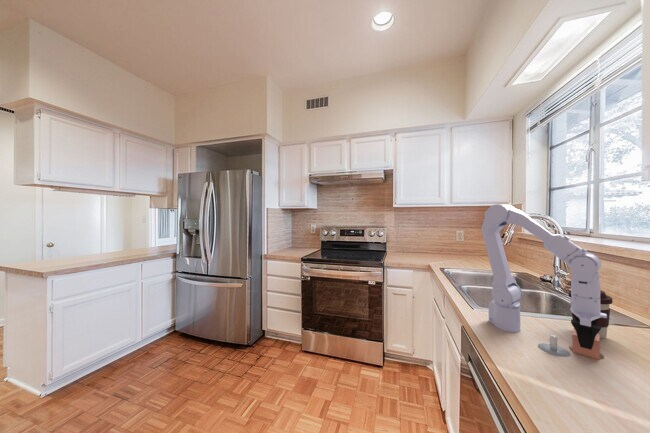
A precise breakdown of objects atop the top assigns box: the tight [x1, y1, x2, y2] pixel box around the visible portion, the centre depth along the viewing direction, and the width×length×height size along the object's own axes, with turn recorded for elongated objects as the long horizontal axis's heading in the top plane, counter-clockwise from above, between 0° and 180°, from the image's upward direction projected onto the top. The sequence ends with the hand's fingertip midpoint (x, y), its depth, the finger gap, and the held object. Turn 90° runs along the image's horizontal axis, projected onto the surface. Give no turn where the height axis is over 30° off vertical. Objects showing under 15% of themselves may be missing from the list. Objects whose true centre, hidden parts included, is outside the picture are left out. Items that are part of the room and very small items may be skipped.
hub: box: [568, 344, 605, 360], centre depth 70 cm, size 7×7×5 cm
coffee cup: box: [567, 289, 613, 339], centre depth 81 cm, size 10×10×15 cm
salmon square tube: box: [571, 328, 601, 360], centre depth 70 cm, size 5×5×5 cm
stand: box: [537, 334, 571, 358], centre depth 71 cm, size 7×7×5 cm
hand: (585, 342), depth 70 cm, fingers open, 7 cm apart
